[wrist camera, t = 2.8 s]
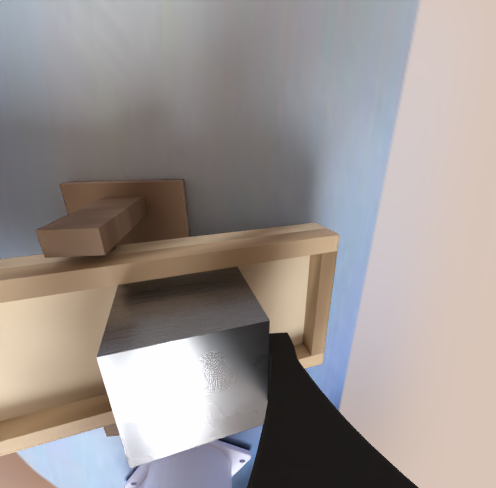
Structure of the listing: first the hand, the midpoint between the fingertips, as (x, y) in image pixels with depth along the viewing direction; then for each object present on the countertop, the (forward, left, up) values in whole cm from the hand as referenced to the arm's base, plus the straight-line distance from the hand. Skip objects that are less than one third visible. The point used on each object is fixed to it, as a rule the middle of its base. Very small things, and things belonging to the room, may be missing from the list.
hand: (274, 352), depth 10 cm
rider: (-2, +3, -2) cm, 4 cm away
